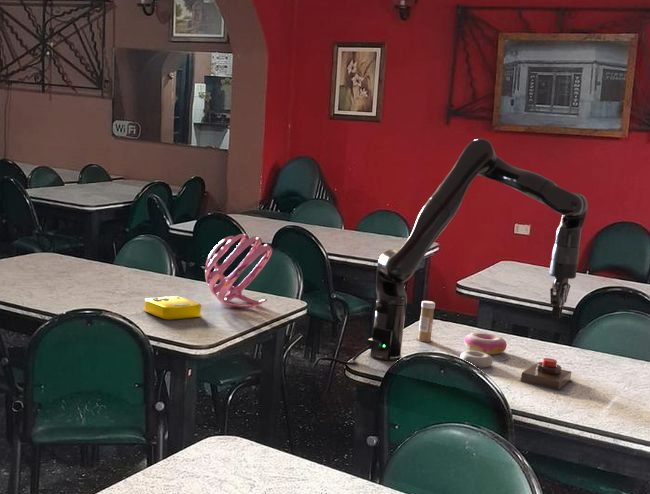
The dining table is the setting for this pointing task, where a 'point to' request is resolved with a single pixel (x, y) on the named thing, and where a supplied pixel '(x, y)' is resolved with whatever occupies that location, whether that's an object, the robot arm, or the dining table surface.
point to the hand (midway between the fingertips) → (556, 318)
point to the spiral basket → (227, 282)
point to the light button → (549, 362)
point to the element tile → (172, 307)
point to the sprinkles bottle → (426, 321)
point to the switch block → (546, 376)
